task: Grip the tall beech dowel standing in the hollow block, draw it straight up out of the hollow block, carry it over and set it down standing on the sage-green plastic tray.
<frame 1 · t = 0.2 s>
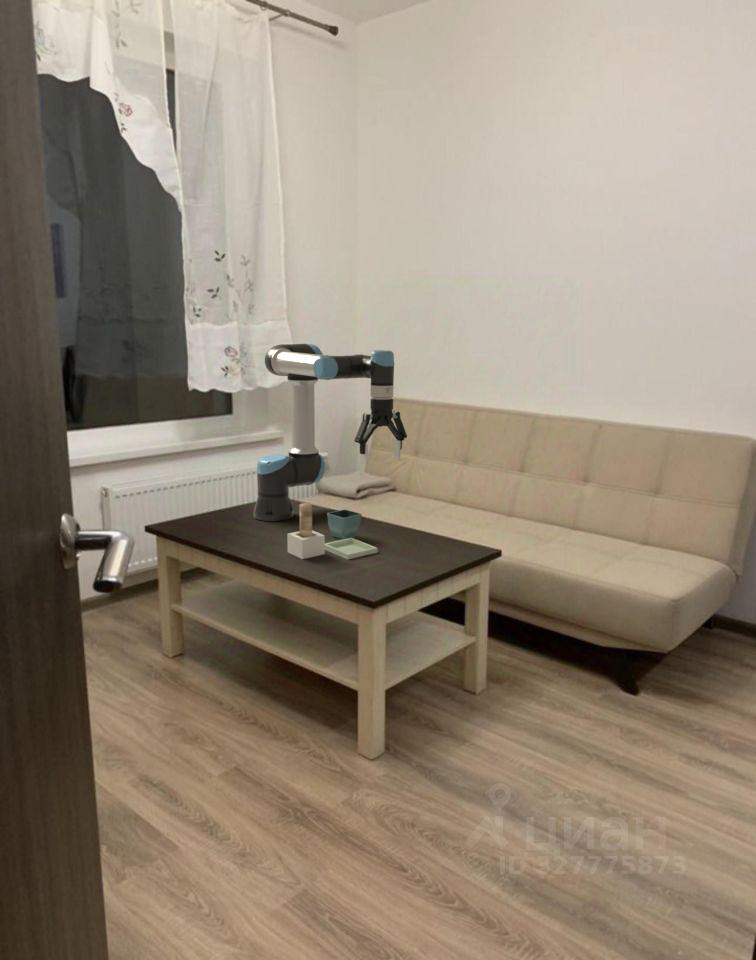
hand: (380, 461, 252), 28 cm above the table, fingers open, 13 cm apart
hollow block: (306, 555, 242), on the table
dowel: (306, 553, 242), point 1 cm above the table, touching hollow block
tray: (349, 552, 246), on the table
flower pot: (344, 538, 261), on the table
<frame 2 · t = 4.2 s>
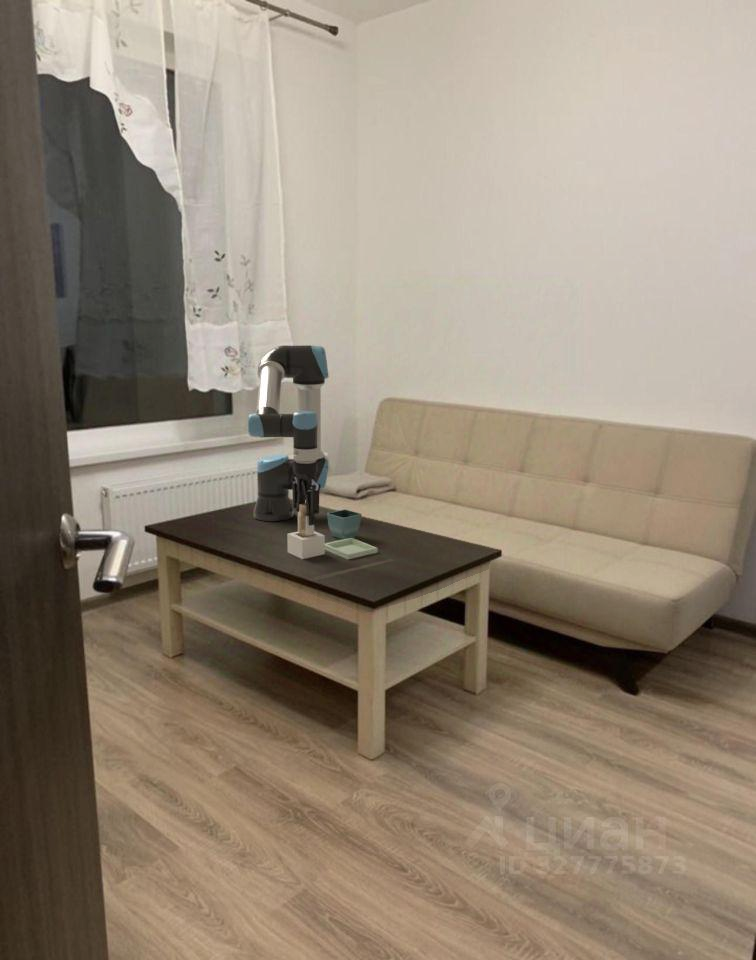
hand: (306, 532, 241), 8 cm above the table, fingers closed on dowel, 4 cm apart
dowel: (306, 552, 242), point 1 cm above the table, touching hollow block, gripper
everything else where it was.
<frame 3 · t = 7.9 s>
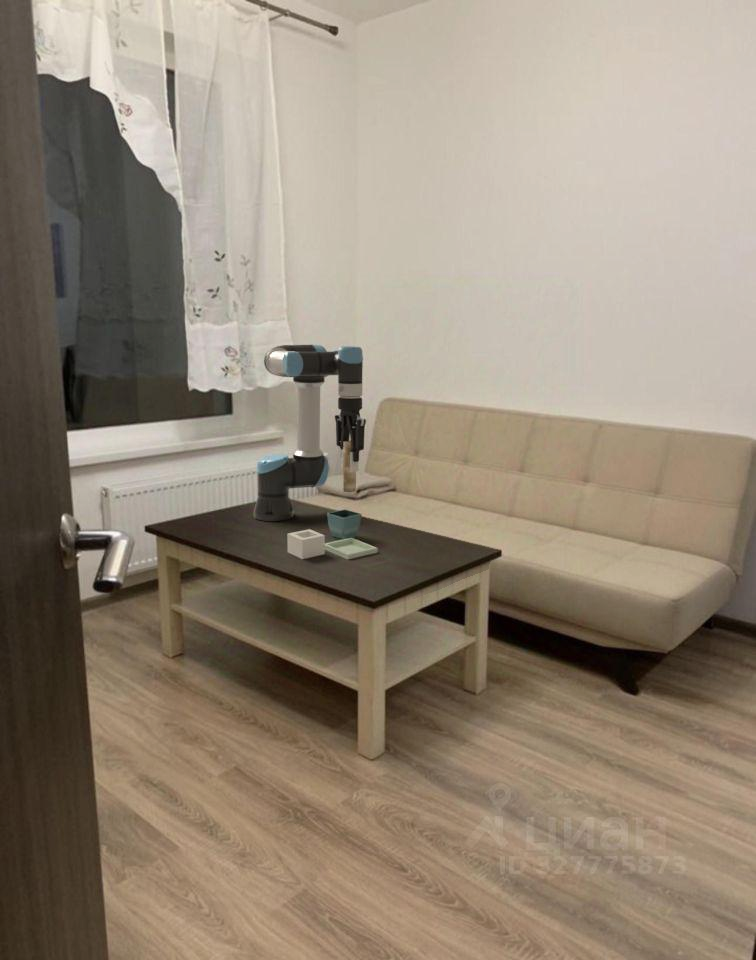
hand: (349, 470, 240), 28 cm above the table, fingers closed on dowel, 4 cm apart
dowel: (349, 491, 241), point 21 cm above the table, touching gripper
everything else where it was.
when the fingers open (9 cm above the table, at t = 11.6 s): dowel drops 1 cm, resting on tray.
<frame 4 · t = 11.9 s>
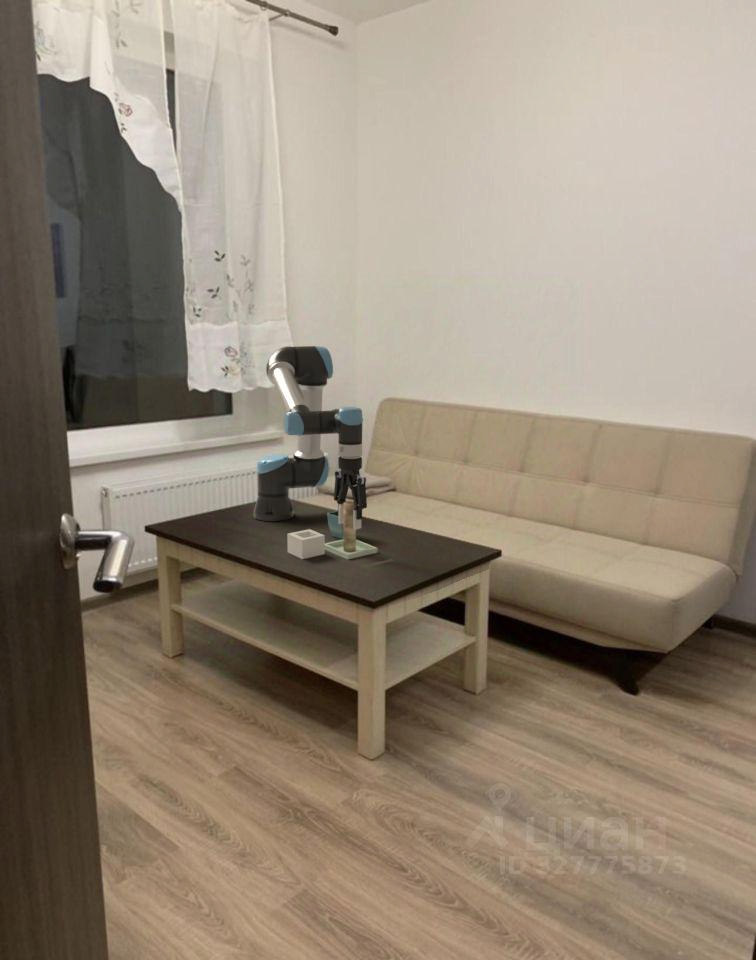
hand: (349, 525, 244), 9 cm above the table, fingers open, 7 cm apart
dowel: (349, 550, 246), point 1 cm above the table, touching tray
everything else where it was.
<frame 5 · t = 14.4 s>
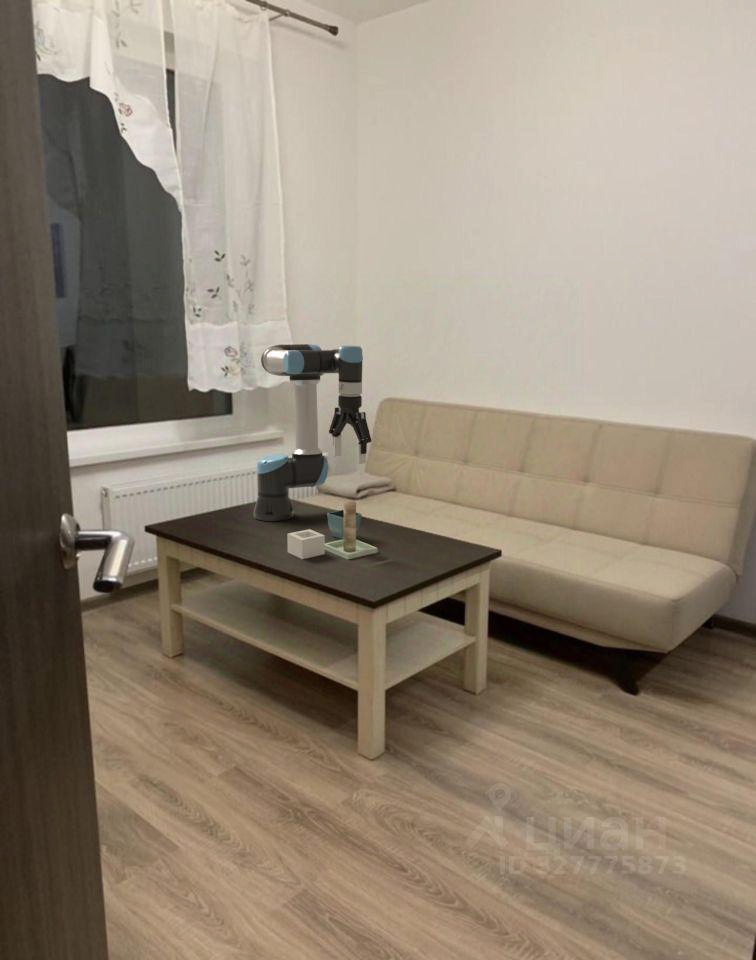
hand: (349, 459, 246), 30 cm above the table, fingers open, 13 cm apart
nothing on the table moved.
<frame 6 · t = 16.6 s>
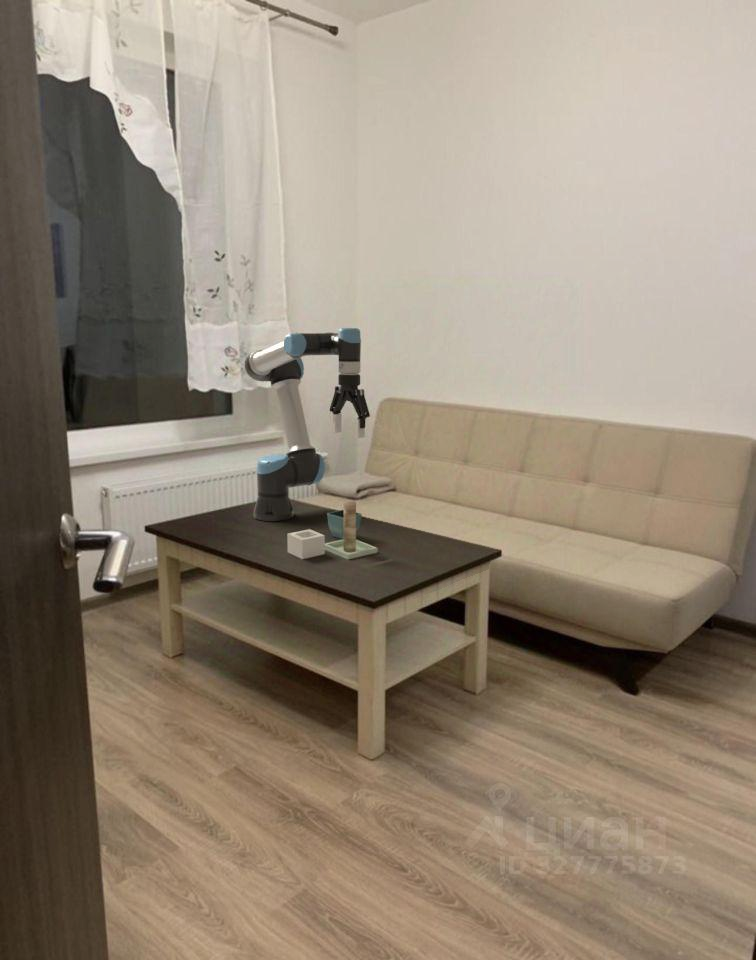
hand: (349, 434, 263), 35 cm above the table, fingers open, 13 cm apart
nothing on the table moved.
at the end: dowel inside the target area on the tray (0.0 cm from its centre), point 0.8 cm above the tray's base; dowel touching tray; the gripper is holding nothing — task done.
